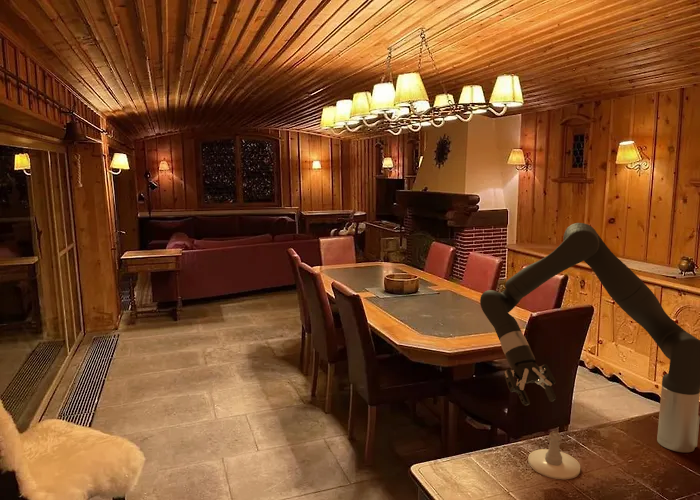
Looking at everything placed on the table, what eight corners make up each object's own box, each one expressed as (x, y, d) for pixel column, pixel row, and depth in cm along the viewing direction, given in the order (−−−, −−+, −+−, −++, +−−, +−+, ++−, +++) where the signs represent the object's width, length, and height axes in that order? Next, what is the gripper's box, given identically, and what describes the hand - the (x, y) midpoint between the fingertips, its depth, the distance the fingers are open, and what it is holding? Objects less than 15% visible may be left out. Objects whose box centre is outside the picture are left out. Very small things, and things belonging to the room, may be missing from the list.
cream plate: (557, 449, 144) (557, 446, 144) (591, 474, 132) (591, 470, 132) (518, 456, 141) (518, 453, 140) (550, 483, 128) (550, 479, 128)
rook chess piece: (564, 467, 134) (565, 438, 133) (546, 465, 135) (547, 436, 134) (560, 458, 138) (562, 430, 137) (543, 456, 139) (544, 428, 138)
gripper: (501, 346, 145) (525, 401, 135) (543, 341, 149) (568, 394, 140) (490, 358, 150) (512, 411, 141) (530, 353, 155) (554, 404, 145)
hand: (540, 402), depth 140 cm, fingers open, 8 cm apart
